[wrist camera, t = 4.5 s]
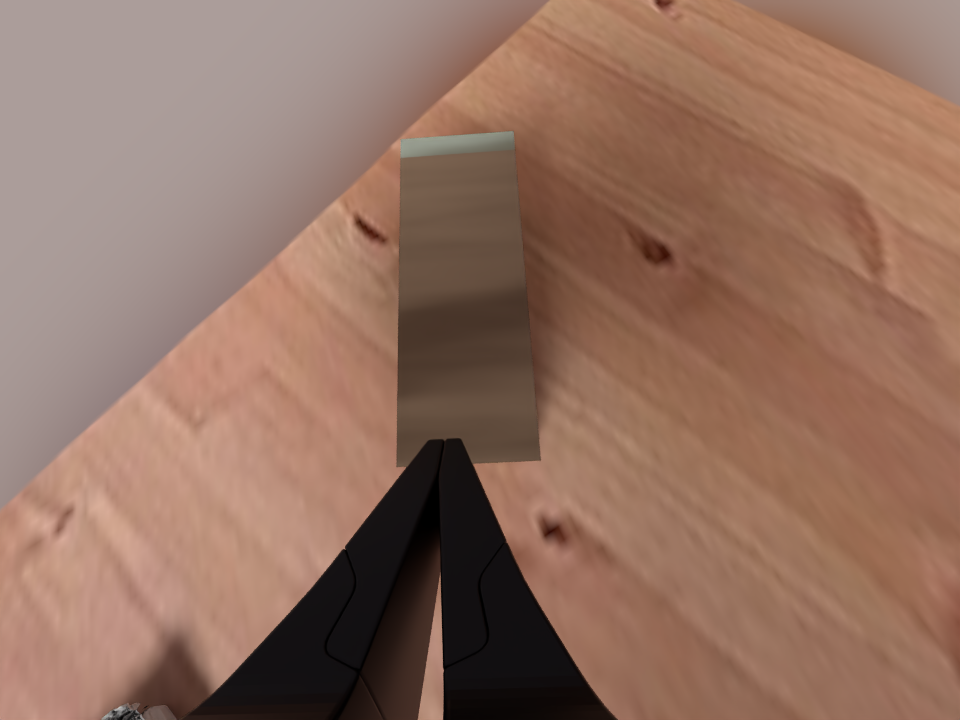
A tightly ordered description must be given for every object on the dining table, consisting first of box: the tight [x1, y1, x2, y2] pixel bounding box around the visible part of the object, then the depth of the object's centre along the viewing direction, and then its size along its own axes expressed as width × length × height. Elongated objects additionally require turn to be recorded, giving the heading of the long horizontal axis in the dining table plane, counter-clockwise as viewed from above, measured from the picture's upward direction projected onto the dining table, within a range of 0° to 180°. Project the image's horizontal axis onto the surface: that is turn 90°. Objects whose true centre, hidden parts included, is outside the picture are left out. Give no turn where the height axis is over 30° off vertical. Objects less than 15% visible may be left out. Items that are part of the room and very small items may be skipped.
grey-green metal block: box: [397, 131, 541, 467], centre depth 17 cm, size 5×5×14 cm
